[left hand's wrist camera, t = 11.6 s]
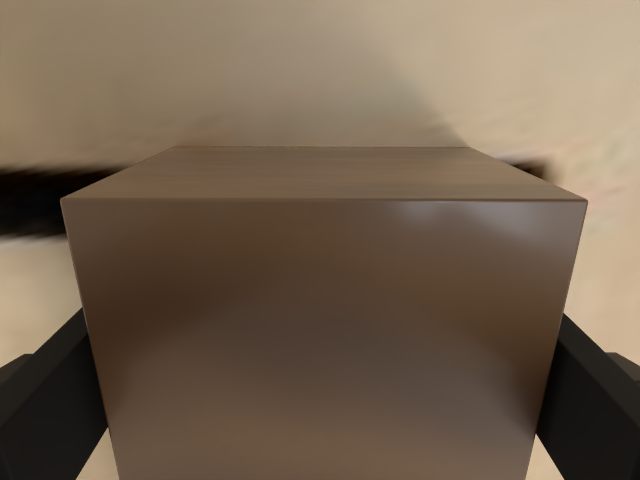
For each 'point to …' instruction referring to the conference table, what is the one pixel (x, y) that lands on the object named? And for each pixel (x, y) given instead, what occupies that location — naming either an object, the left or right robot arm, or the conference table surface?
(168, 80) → the conference table surface
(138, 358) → the thick board
